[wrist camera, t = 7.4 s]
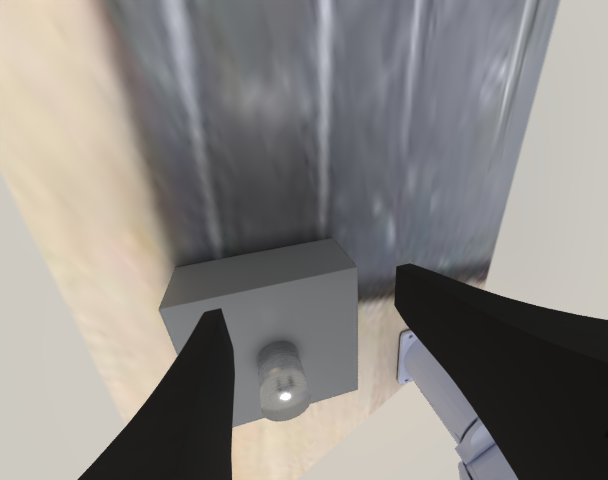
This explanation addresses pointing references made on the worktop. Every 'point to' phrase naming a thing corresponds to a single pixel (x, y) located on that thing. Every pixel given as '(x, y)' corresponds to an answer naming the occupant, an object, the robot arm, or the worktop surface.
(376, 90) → the worktop surface
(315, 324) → the cover
